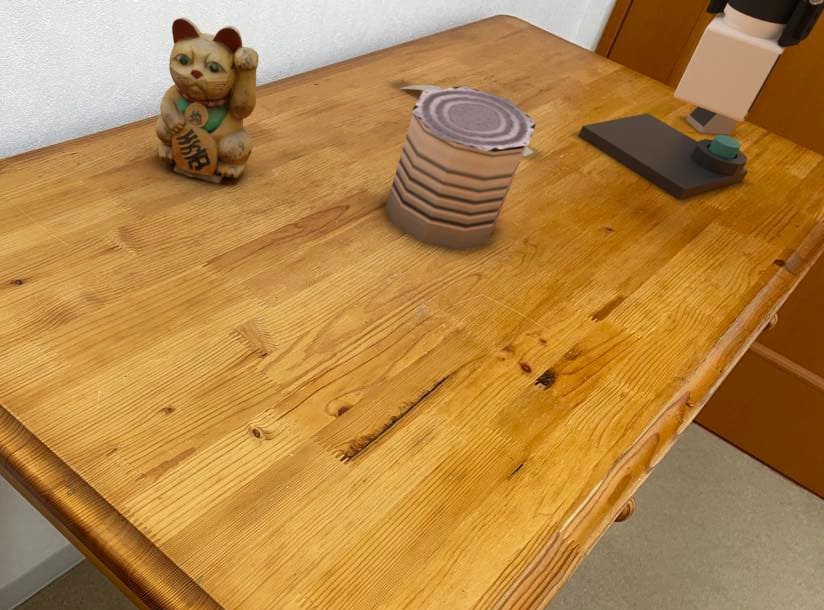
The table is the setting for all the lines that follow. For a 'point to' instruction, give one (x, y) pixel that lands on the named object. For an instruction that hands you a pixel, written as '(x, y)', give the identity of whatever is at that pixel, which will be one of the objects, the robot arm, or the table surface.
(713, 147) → the button
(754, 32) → the medicine bottle
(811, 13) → the robot arm
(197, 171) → the decorative figurine
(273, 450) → the table surface
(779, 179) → the table surface
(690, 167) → the scale
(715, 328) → the table surface
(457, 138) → the can
